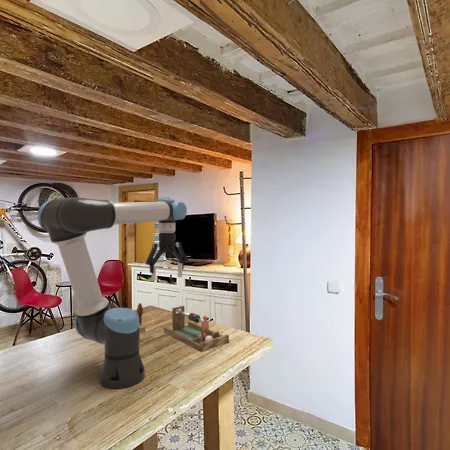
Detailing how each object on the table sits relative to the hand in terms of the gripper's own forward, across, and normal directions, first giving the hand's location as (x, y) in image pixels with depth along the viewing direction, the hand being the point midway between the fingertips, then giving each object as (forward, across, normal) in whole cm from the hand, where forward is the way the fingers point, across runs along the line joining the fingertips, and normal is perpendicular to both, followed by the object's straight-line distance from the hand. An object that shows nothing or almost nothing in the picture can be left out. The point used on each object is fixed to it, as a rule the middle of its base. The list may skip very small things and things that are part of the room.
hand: (167, 278), depth 153 cm
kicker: (+26, +9, -4) cm, 28 cm away
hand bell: (+28, -9, +9) cm, 31 cm away
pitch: (+28, +9, -9) cm, 31 cm away
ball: (+24, +10, -18) cm, 31 cm away
